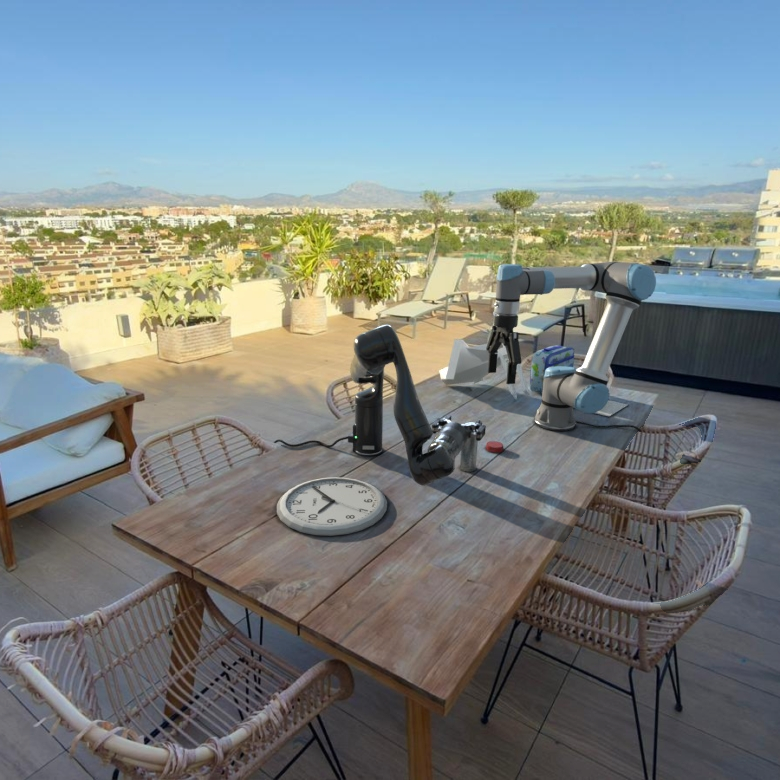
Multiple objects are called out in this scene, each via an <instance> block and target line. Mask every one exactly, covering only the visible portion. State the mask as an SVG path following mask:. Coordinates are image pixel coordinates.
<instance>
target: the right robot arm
mask: <svg viewBox="0 0 780 780" xmlns="http://www.w3.org/2000/svg"><path fill="white" fill-rule="evenodd" d="M656 285H657V277H656V275H655V271H654V269H652V268H651V267H650V266H649V265H646V264H644V263H639V262H624V261H623V262H622V261H604V262H596V263H595V262H594V263H585V264H582V265H581V266H535V267H534V266H533V267H532V266H530V267H529V266H528V267H526V266H525V267H523V265H521V264H517V263H516V264H513V263H512V264H511V263H504V264H500V265H499V266H498V269H497V274H496V287H495V288H496V289H495V303H494V311H495V313H497V314H495V315H493V325H492V326H491V332H490V335H489V338H488V341H487V343H488V344H487V343H486V344H487V347H486V350H488V352H489V365H488V373H489V374H495V373H497V368H498V367H497V355H498V354H495V353H498V351H497V350H498V349H500V348H501V345H502V343H503V345H504V346H505V347H506V351H507V355H508V359H509V360H508V362H507V365H508V370H507V380H506V385H508V384H513V385H515V384H516V378H517V364H520V365H521V364H522V355H521V347H520V341H519V338H520V335H519V332H518V331H517V332H514V329H515V328H517V327H518V324H519V323H518V322H519V316H518V314H519V312H520V302H521V301H520V300H521V296H524V295H526V296H527V295H547V294H548V295H549V294H550V293H551V292H552V291H553V290H557V289H558V290H559V289H581V290H582V291H583V292H584V291H586V292H587V291H590V292H596V293H603V294H604V295H605V296H604V297H605V300H606V306H605V308H604V311H603V314H602V316H601V318H600V321H599V323H598V326H597V328H596V331H595V333H594V335H593V338H592V340H591V343H590V345H589V347H588V350H587V353H586V355H585V358H584V360H583V363H582V365H581V366H580V367H578V368H576V367H574V366H573V367H565V366H556V367H549V368H547V369H546V370H545V374H544V380H543V391H542V393H541V402H540V405H539V407H538V408H537V410H536V413H535V417H534V424H535V425H536V426H537V427H539V428H542V429H544V430H549V431H556V432H567V431H572V430H574V429H575V428H576V424H578V425H583V426H588V427H591V428H599V429H609V428H610V429H611V428H632V429H635V430H637V432H640V433H642V432H643V431H642V429H640V428H639V427H637V426H636V425H632V424H610V425H599V424H592V423H588V422H582V421H579V420H578V421H577V420H576V418H575V417H576V416H575V413H574V409H575V410H577V411H578V412H581V413H585V414H588V415H590V414H591V415H593V414H596V412H597V411H600V410H601V409H602V408H603V407H604V406H605V405H606V404H607V402H608V400H610V395H611V394H610V389H609V387H608V383H609V378H608V376H607V373H608V371H609V368H610V367H611V364H612V361H613V359H614V356H615V354H616V352H617V349H618V347H619V344H620V342H621V340H622V337H623V334H624V333H625V330H626V327H627V325H628V322H629V320H630V317H631V315H632V313H633V311H634V310H636V309H639V307H640V306H641V304H642V301H645V300H648V299H649V298H650V297H651V296H652V295H653V294H654V292H655V290H656ZM503 345H502V346H503ZM496 367H497V368H496Z"/></svg>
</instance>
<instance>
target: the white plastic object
mask: <svg viewBox="0 0 780 780" xmlns="http://www.w3.org/2000/svg"><path fill="white" fill-rule="evenodd" d="M495 314H497V313H495V310H494V311H492V315H493V316H494V315H495ZM487 344H488V342H487V343H483V344H479V345H473V346H469V345H468V343H466V342H465V340H464V339H463V338H460V339H458V338H454V340H453V344H452V349H451V353H450V357H449V362H448V366H446V367H444V368H442V369H440V370H439V371H438V372H439V376H440V381H442V383H443V384H444V385H445V386H449V385H458V384H467V383H468V384H469V383H473V384H477V383H480V382H482V381H484V378H485V377H486V376H487V375H489V374H490V373H488V365H489V352H488V350H486V347H487ZM501 345H502V347H499V349H498V350H497V351H498V353H495V354H498V355H497V367H496V369H498V368H499V367H500V366H502V370H503V373H504V376H505V381H507V370H508V362H509V359H508V355H507V351H506V347H505V346H504V345H503V343H502V344H501ZM522 368H523V367H522V366H521V364H517V369H516V374H517V376H518V380H519V382H520V385H521V389H522V391H523V393H524V395H525V396H526V397H528V396H531V395H530V389H529V388H528V387H529V386H528V384H527V381H526V378H525V375H524V371H523V369H522ZM507 386H508V390H509V393H510V394H511V395H512V397H513V398H514V399H515V400H517V392H516V391H517V390H516V388H515V384H507Z"/></svg>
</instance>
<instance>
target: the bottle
mask: <svg viewBox="0 0 780 780" xmlns="http://www.w3.org/2000/svg"><path fill="white" fill-rule="evenodd" d="M469 423H471V424H475V423H476V422H472V421H471V422H469V421H468V422H464V424H469ZM468 428H469V427H468ZM474 430H475V427H474ZM478 443H479V441H477V440H476V437H471V438H468V440H467V442H466V443H465V445H464V447H463V449H462V450H461V451H460V462H459V469H460V470H461V471H463V472H465V473H466V472H467V473H468V472H469V473H472V472H475V471H476V469H477V457H478Z"/></svg>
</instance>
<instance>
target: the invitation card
mask: <svg viewBox="0 0 780 780" xmlns="http://www.w3.org/2000/svg"><path fill="white" fill-rule="evenodd" d="M628 406H629V404H627V403H623V402H618V401H614V400H610V399H609V400H608V402H607V404H606V405H605V406H604V407H603V408H602V409H601V410H600V411H597V412H596V413H595V414H596V415H600V416H604V417H608V418H609V417H611V416H613V415H614V414H616V413H617V412H619V411H621V410H623V409H624V408H626V407H628Z"/></svg>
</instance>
